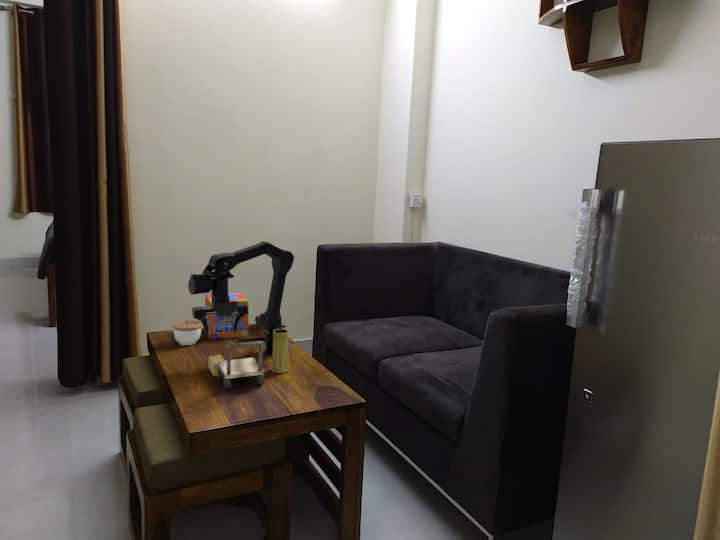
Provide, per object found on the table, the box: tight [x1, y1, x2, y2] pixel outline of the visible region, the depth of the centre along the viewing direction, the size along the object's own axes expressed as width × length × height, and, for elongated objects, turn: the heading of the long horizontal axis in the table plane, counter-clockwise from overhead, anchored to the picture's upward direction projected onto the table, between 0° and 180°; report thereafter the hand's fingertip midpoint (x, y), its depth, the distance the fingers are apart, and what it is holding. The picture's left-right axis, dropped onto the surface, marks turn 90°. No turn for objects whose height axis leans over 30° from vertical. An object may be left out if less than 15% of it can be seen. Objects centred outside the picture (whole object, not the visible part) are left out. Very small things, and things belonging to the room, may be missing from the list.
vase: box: [270, 328, 290, 374], centre depth 185 cm, size 6×6×14 cm
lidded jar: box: [172, 319, 203, 347], centre depth 210 cm, size 11×11×9 cm
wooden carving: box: [246, 315, 287, 339], centre depth 221 cm, size 16×5×10 cm, turn 111°
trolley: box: [217, 340, 265, 390], centre depth 174 cm, size 12×13×15 cm
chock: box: [208, 354, 226, 377], centre depth 183 cm, size 4×8×4 cm, turn 28°
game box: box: [204, 292, 250, 340], centre depth 225 cm, size 16×16×16 cm
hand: (220, 334), depth 189 cm, fingers open, 9 cm apart
